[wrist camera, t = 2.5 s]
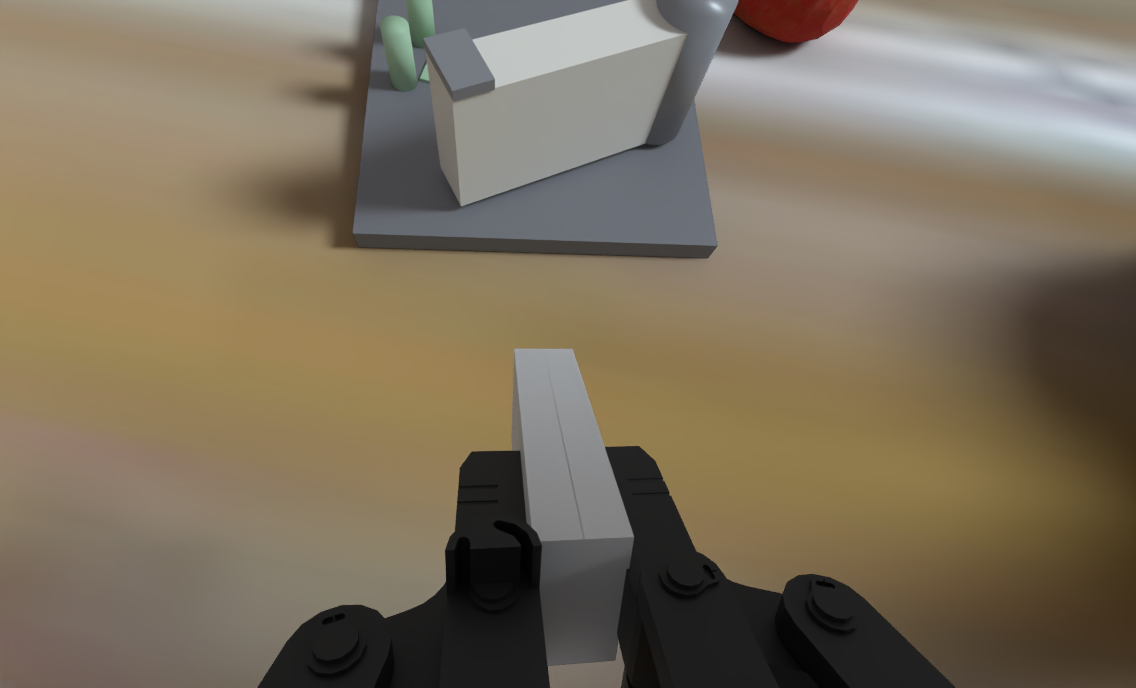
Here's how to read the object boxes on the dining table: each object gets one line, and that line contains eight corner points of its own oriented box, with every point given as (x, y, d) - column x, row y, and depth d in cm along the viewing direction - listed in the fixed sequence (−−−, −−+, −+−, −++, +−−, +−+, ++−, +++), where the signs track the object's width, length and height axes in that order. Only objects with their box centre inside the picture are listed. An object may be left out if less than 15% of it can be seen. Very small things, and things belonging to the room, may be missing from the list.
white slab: (660, 90, 36) (711, -46, 28) (691, 134, 35) (753, 7, 27) (437, 160, 32) (418, 23, 24) (464, 213, 31) (455, 90, 23)
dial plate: (672, 19, 42) (697, -54, 37) (708, 257, 35) (746, 208, 29) (384, -8, 39) (369, -92, 34) (358, 247, 32) (333, 189, 26)
